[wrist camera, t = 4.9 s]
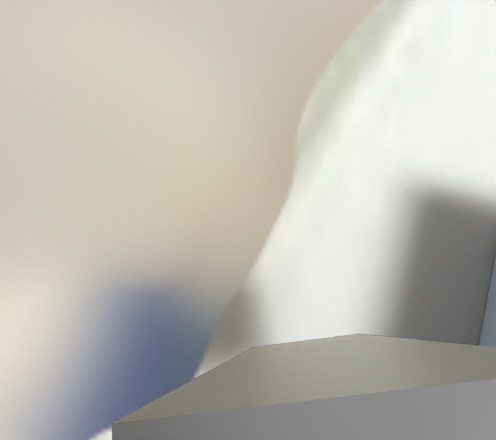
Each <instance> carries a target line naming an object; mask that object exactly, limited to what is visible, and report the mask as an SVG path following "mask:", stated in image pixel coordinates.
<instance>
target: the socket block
mask: <svg viewBox="0 0 496 440" xmlns="http://www.w3.org/2000/svg"><path fill="white" fill-rule="evenodd" d="M479 346H489V347H496V254H495V260H494V265H493V271H492V276H491V282H490V287H489V292H488V298H487V303H486V309H485V314H484V320H483V325H482V330H481V336H480V341H479Z"/></svg>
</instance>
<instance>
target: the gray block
mask: <svg viewBox="0 0 496 440" xmlns="http://www.w3.org/2000/svg"><path fill="white" fill-rule="evenodd" d="M112 440H496V347H489V346H479V345H469V344H458V343H448V342H438V341H428V340H418V339H408V338H398V337H388V336H377V335H367V334H353V335H345V336H337V337H329V338H321V339H313V340H305V341H297V342H289V343H282V344H274V345H266V346H258V347H253V348H251V349H249V350H247V351H245V352H244V353H242V354H240V355H238V356H236V357H234V358H232V359H231V360H229V361H227V362H225V363H223V364H221V365H219V366H218V367H216V368H214V369H212V370H210V371H208V372H206V373H205V374H203V375H201V376H199V377H197V378H195V379H193V380H191V381H190V382H188V383H186V384H184V385H182V386H181V387H179V388H177V389H175V390H173V391H171V392H169V393H167V394H165V395H164V396H162V397H160V398H158V399H156V400H154V401H152V402H151V403H149V404H147V405H145V406H143V407H141V408H139V409H137V410H136V411H134V412H132V413H130V414H128V415H126V416H125V417H123V418H121V419H119V420H117V421H115V422H113V423H112Z"/></svg>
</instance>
